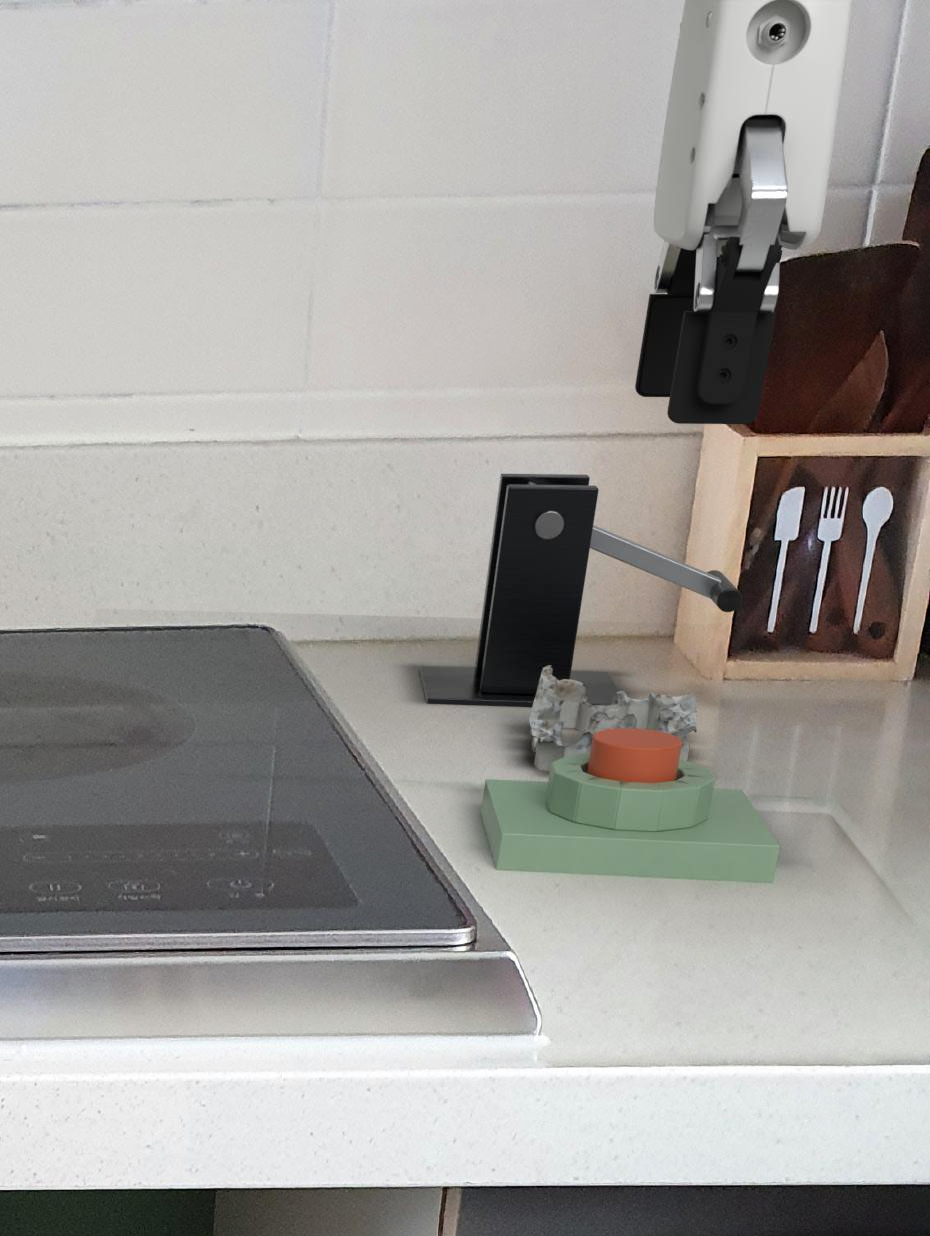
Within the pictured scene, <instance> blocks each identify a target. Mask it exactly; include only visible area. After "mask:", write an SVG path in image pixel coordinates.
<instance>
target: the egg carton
mask: <svg viewBox="0 0 930 1236" xmlns="http://www.w3.org/2000/svg"><path fill="white" fill-rule="evenodd" d="M552 672H553V669H552V668H551V665H549V666H548V665H547V666H545V667H544V668H543V670H542V673H541V676H540V680H539V684H538V689H537V692H536V696H535V699H534V702H533V707H531V712H530V714H529V717H528V721H529V726H530V730H529V736H530V737H532V741H531V749H532V752H533V753H535V756H534V761H533V762H534V763H533V766H534V767H535V768H536V769H537V770H538V771H539V770H540V771H546V772H550V767H551V763H552V762H554V761H556V760H558V759H561V758H563V757H565V756H567V755H571V754H581V753H590V751H591V744H592V738H593V735H594V734H595V733H596V732H599V731H602V730H607V729H618V728H634V729H647V730H654V731H660V732H665V733H669V734H672V735H674V736H677V737H679V738H680V739H681V740H682V747H681V753H680V759H683V760H686V761H688V758H689V754H690V753H689V752H690V745H691V744H690V742H689V739H688V738H687V735H688V734H690V733H692V732H694V733H697V731H698V729H697V727H698V723H697V721H698V714H697V697H696V694H695V693H692V692H691V693H686V694H682V695H676V696H672V695H671V696H670V695H667V694H662V693H658V694H656V693H655V692H654V691H653V692H650V694H649V696H648V697H647V698H641V699H639V698H631V697H629V696H628V694H627V692H626V691H625V690H619V691H618V692H617V693H616V694H615V695H614V696H613V701H612V704H611V705H608V706H603V705H598V706H593V705H591V704H589V703H588V702H586V700H587V696H586V690H585V686H584V685H583V683H581V682H578V681H576V680H570V679H562V680H560V681H559V680H558V679H556V678H555V677H554V676H552ZM563 728H565V729H575V730H576V731H577V730H578V731H579V732H582V733H581V736H580V738H579V739H578V741H577V742H575V743H573V744H569V745H567V744H565V745H564V744H563V742H562V734H563Z"/></svg>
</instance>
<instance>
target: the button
mask: <svg viewBox="0 0 930 1236" xmlns="http://www.w3.org/2000/svg"><path fill="white" fill-rule="evenodd" d="M681 747H682V740H681V739H680V738H679V737H677V736H674V735H672V734H669V733H665V732H660V731H654V730H647V729H634V728H618V729H607V730H602V731H599V732H596V733H595V734H594V735H593V738H592V744H591V751H590V757H589V763H588V770H587V774H590V775H593V776H595V777H598V778H603V779H609V780H615V781H621V782H638V783H660V782H670V781H676V776H677V770H678V764H679V759H680V753H681Z"/></svg>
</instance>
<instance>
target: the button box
mask: <svg viewBox="0 0 930 1236" xmlns="http://www.w3.org/2000/svg"><path fill="white" fill-rule="evenodd" d="M589 757H590V753H581V754H571V755H567V756H565V757H563V758H561V759H558V760H556V761H554V762H552V763H551V767H550V771H549V773H548V774H549V775H548V781H539V780H536V781H535V780H517V779H516V780H514V779H491V778H490V779H489V778H487V779H485V780H484V787H483V795H482V802H481V807H480V808H481V809H480V816H481V820H482V824H483V827H484V831H485V834H486V838H487V841H488V845H489V849H490V852H491V856H492V859H493V863H494V867H495V870H496V871H504V872H505V871H508V872H524V873H525V872H527V873H546V874H547V873H548V874H549V873H550V874H567V875H568V874H569V875H589V876H610V877H611V876H612V877H629V878H632V877H633V878H653V879H673V880H696V881H715V882H733V883H734V882H735V883H753V884H755V883H756V884H774V881H775V875H776V870H777V864H778V859H779V854H780V849H781V845H780V844H779V842H778V841H777V839H776V838H775V837H774V835H773V834H772V832H771V830H770V829H769V827H768V826H767V824H766V823H765V822H764V820H763V818H762V817H761V815H760V814H759V813H758V811H757V810H756V808H755V806H754V805H753V803H752V802H751V801H750V799H749V798H748V797H747V795H746V793H745V792H744V790H743V789H741V788H737V789H736V788H714V787H715V784H716V783H715V782H716V778H715V776H714V775H713V773H712V772H711V770H710V769H709V768H708V767H706V766H703V765H701V764H697V763H695V762H692V761H689V760H687V761H686V760H683V759H679V764H678V770H677V776H676V781H670V782H660V783H638V782H621V781H615V780H609V779H603V778H598V777H595V776H593V775H590V774H587V770H588V763H589Z"/></svg>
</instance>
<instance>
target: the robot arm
mask: <svg viewBox="0 0 930 1236" xmlns="http://www.w3.org/2000/svg"><path fill="white" fill-rule="evenodd" d="M852 9H853V0H684V5H683V11H682V17H681V21H680V24H679V34H678V40H677V46H676V52H675V57H674V64H673V69H672V76H671V83H670V89H669V93H668V94H669V95H668V100H667V108H666V114H665V121H664V127H663V135H662V142H661V150H660V156H659V164H658V173H657V180H656V189H655V198H654V209H653V210H654V211H653V230H654V232H655V234H657V236H659V238H661V239H662V240H663V243H662V248H661V252H660V255H659V259H658V263H657V265H656V271H655V274H654V281H653V282H654V283H653V293H649V295H648V302H647V307H646V315H645V321H644V327H643V333H642V340H641V346H640V353H639V358H638V366H637V373H636V378H635V384H634V389H635V392H636V394H638V395H639V396H640V397H642V398H669V400H668V406H667V413H666V415H667V417H668V419H669V421H671V422H673V423H674V424H677V425H678V424H679V425H680V424H681V425H683V424H685V425H700V424H701V425H749V424H752V423H754V421H756V420H757V418H758V416H759V412H760V407H761V402H762V396H763V391H764V385H765V379H766V373H767V369H768V368H767V367H768V363H769V358H770V357H769V356H770V351H771V347H772V341H773V335H774V331H775V330H774V329H775V324H776V317H777V314H778V313H777V311H775V309H776V306H777V301H778V297H779V292H780V291H779V290H780V270H781V260H782V255H783V249H788V250H792V251H795V250H796V251H797V250H799V251H801V250H804V249H806V248H807V247H809V246H810V245H811V244H812V243H813V242H814V241H815V240H817V238H818V237H819V236H820V232H821V229H822V225H823V220H824V219H823V218H824V212H825V205H826V198H827V192H828V187H829V177H830V171H831V166H832V157H833V151H834V145H835V138H836V130H837V123H838V119H839V117H838V116H839V110H840V104H841V97H842V89H843V82H844V74H845V68H846V61H847V52H848V46H849V45H848V44H849V36H850V28H851V19H852V12H853V11H852ZM782 248H783V249H782Z"/></svg>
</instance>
